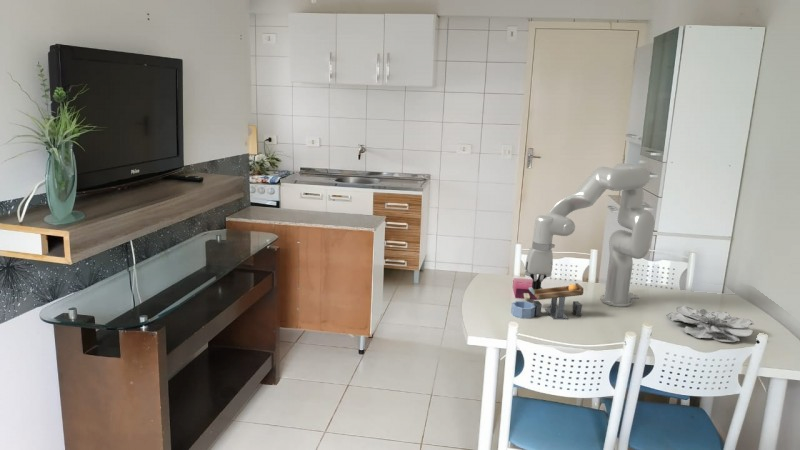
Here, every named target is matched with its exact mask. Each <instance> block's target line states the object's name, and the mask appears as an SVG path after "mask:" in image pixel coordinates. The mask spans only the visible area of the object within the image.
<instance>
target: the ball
mask: <svg viewBox="0 0 800 450" xmlns="http://www.w3.org/2000/svg"><path fill="white" fill-rule="evenodd" d="M568 286H569V288H568V289H569V291H572V290H577V287H576V284H574V283H573V284H569V285H568Z"/></svg>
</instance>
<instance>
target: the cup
mask: <svg viewBox="0 0 800 450" xmlns="http://www.w3.org/2000/svg"><path fill="white" fill-rule="evenodd" d="M510 307H511V309H510V313H511V315H512V316H513V317H515V318H519V319H532V318H534V317H535V306H534V304H533V302H530V301H526V300H515V301H514V302H511V306H510Z"/></svg>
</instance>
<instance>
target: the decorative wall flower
mask: <svg viewBox="0 0 800 450" xmlns="http://www.w3.org/2000/svg"><path fill="white" fill-rule="evenodd" d="M676 312H678V313H673V312H670V313H668V314H667V315H666V314H665V315H666V317H667V318H668V319H670V321H671V322H680V323H686V324H689V325H695V327H692V326H687V325H685V327H684V328H683V333H685V334H690V336H692V337H694V338H696V339H701V338H702V339H713V340H715V341H718V342H721V343H735V342H740V341H741V340H740V338H739V337H743V338H745V337H750V336H751V335H753V334H754V330H753V329H750V328H749V326H752V325H755V323H754V321H753V320H751V319H749V318H742V317H741V318H740V317H736V316H733V317H732V316H730V313H729V312H726V311H712V312H710V311H708V310H707V309H704V308H703V309H699V310H698V309H695V308H694V309H693V308H691V307H688V306H687V305H684V304H683V305H681V306H679V307H676Z"/></svg>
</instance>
